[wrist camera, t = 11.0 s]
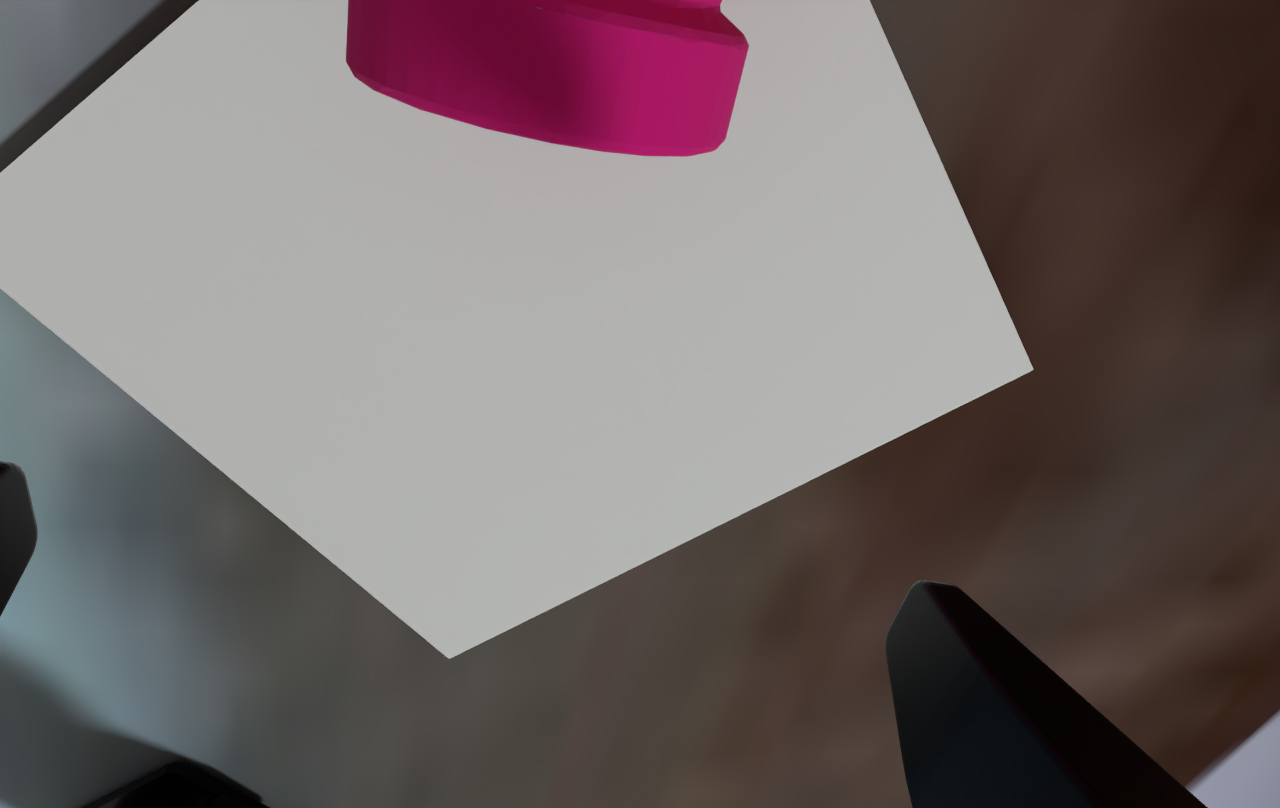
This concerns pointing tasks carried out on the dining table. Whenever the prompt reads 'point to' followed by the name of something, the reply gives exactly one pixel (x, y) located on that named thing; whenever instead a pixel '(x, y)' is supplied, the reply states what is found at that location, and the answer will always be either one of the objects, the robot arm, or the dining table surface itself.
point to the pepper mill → (559, 68)
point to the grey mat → (504, 299)
